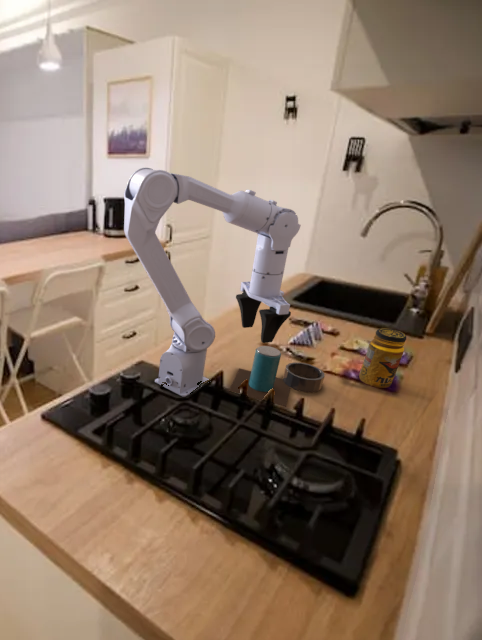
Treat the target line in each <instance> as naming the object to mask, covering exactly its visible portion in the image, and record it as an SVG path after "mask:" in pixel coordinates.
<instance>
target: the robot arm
mask: <svg viewBox="0 0 482 640" xmlns="http://www.w3.org/2000/svg"><path fill="white" fill-rule="evenodd" d="M256 194H257V193H256V191H254V190H252V189H245V191H244V190H238V191H236V192H233V193H232V194H230V193H228V192H225V191H223V190H221V189H218V188H217V187H213V186H212V185H210V184H207V183H205V182H203V181H201V180H198V179H196V178H194V177H192V176H188V175H183V174H178V173H173V172H169V171H167V170H163V169H153V168H150V167H141V168H138V169H136V170H135V171H134V172H133V173H132V174H131V176H130V177H129V179H128V181H127V184H126V187H125V189H124V191H123V199H124V217H123V219H124V221H123V223H124V224H123V232H124V236H125V238H126V240H127V241H128V242H129V244H130V246H131V248H132V250H133V251H134V254H135V255H136V256H137V258H138V260H139V262H140V264H141V265H142V267H143V269H144V271H145V272H146V274H147V276H148V278H149V279H150V281H151V283H152V285H153V286H154V288H155V290H156V292H157V293H158V295H159V297H160V299H161V301H162V302H163V304H164V306H165V308H166V312H167V314H168V315H169V326H170V328H171V330H172V332H173V336H172V339H171V344H170V346H169V348H168V349H167V350H166V351H164V352H163V353H162V354H161V356H160V357H159V367H158V378H155V379H154V383H156V384H158V385H159V386H161V384H164V383H162V382H166V383H167V385H166V384H164V385H163V386H162V387H164V388H165V389H167V390H169V391H170V392H172V393H174V394H176V395H178V396H180V397H182V398H185V397H188V396H190V395H191V394H192V393H191V392H192V391H193V390H195V389H196V388H197V387H199V385H200V384H201V383H203V382H205V381H207V380H209V379H210V378H208V377H205V376H204V373H205V365H206V359H207V351H208V348H210V347H211V346H212V345H213V343H214V341H215V338H216V331H215V328H214V326H213V325H212V324H211V323H209V322H208V321H206V320H205V319H204V318H203V316H202V314H201V313H200V311H199V310H198V309H197V307H196V305H195V304H194V303H193V302H192V299H191V298H190V296H189V294H188V292H187V290H186V288H185V287H184V285H183V283H182V281H181V279H180V277H179V275H178V274H177V272H176V269H175V268H174V266H173V263H172V262H171V260H170V259H169V256H168V254H167V253H166V251H165V248H164V247H163V245H162V243H161V241H160V239H159V237H158V236H157V234H156V230H157V229H158V226H159V224H160V221H161V219H162V218H163V217H164V215H165V214H166V213H167V211H168V210H169V209H170V207H172V205H173V203H175V204H176V205H180V204H181V203H185V202H186V201H191V202H194V203H196V204H199V205H202V206H205V207H208V208H210V209H213V210H216V211H219V212H222V215H223V218H224V221H225V222H226V223H228V224H231V225H234V226H237V227H238V228H239V227H240V228H242V229H243V230H248V231H250V232H252V233H254V234H256V235H257V239H256V245H255V251H254V257H253V263H252V270H251V277H250V281H241V282H240V288H239V291H240V292H241V293H239V294H236V295H235V299H236V301H237V303H238V307H239V311H240V318H241V319H240V320H241V327H242V328H243V329H247V328H253V326H254V324H255V321H256V318H257V314H258V313H259V316H260V319H261V331H260V342H261V343H263V344H267V343H273V342H274V339H275V338H276V336H277V333H278V332H279V330H280V328H281V327H282V325H283V324H284V323H285V322H286V321H287V320H288V319H289V318H290V317H291V314H292V312H291V311H290V308H291V304H290V303H288V302H287V301H286V300H285V298H284V297H283V296H284V295H285V292H284V291H282V289H281V287H282V282H283V278H284V273H285V268H286V262H287V257H288V253H289V249H290V248H291V244H292V241H293V239H294V238H295V237H296V236H297V234H298V233H299V231H300V230H301V224H300V223H299V217H298V214H297V212H296V211H294V210H293V209H291V208H287V207H282V206H279V205H277V204H278V202H277V201H276V200H274V199H269V200H266V199H263V198H261V197H258V196H256ZM262 303H263V304H264V305H266V306H268V307H269V308H265V309H264V308H263V309H260V306H261V304H262ZM200 381H202V382H201V383H200V384H199V385H197V383H198V382H200ZM168 385H169V386H168ZM196 390H197V389H196ZM196 390H195V391H196ZM190 393H191V394H190Z"/></svg>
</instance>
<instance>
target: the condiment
mask: <svg viewBox="0 0 482 640" xmlns="http://www.w3.org/2000/svg"><path fill="white" fill-rule="evenodd" d="M406 341H407V335H406V333H404V332H402V331H399V330H397V329H393V328H385V327H381V328H378V329H376V331H375V334H374V336H373V339H372V340H371V341H369V345H368V347H367V351H366V353H365V356H364V358H363V362H362V365H361V368H360V371H359V374H358V376H359V377H358V378H359V380H360V381H361V382H362V383H364V384H366V385H367V386H370V387H375V388H377V389H379V388H380V389H387V388H390V387H391V385H392V384H393V381H394V379H395V376H396V373H397V371H398V368H399V365H400V363H401V360H402V358H403V356H404V352H405V348H404V346H405V344H406Z"/></svg>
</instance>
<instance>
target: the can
mask: <svg viewBox="0 0 482 640" xmlns="http://www.w3.org/2000/svg"><path fill="white" fill-rule="evenodd" d="M281 357H282V353H281V351H280V350H279V349H278V348H276V347H273V346H270V345H269V346H268V345H261V346H257V348H255V351H254V355H253V361H252V365H251V370H250V371H251V375H250V380H249V385H250V387H251V388H253V389H255V390H257V391H261V392H268V391H269V390H270V389H272V388H273V387H274V383H275V378H276V377H277V373H278V371H279V365H280V362H281V361H280V360H281Z"/></svg>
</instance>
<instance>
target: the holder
mask: <svg viewBox="0 0 482 640" xmlns="http://www.w3.org/2000/svg"><path fill="white" fill-rule="evenodd" d="M325 377H326V376H325V372H324V371H323V370H322V369H320V368H319V367H317V366H315V365H312V364H310V363H306V362H297V361H293V362H290V363H288V364H286V365H285V369H284V371H283V377H282V379H283V381H284V383H285V384H286V385H288V386H289V387H290V389H293V390H295V391H298V392H302V393H317V392H320V390H321V389H322V386H323V383H324V380H325Z"/></svg>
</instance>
